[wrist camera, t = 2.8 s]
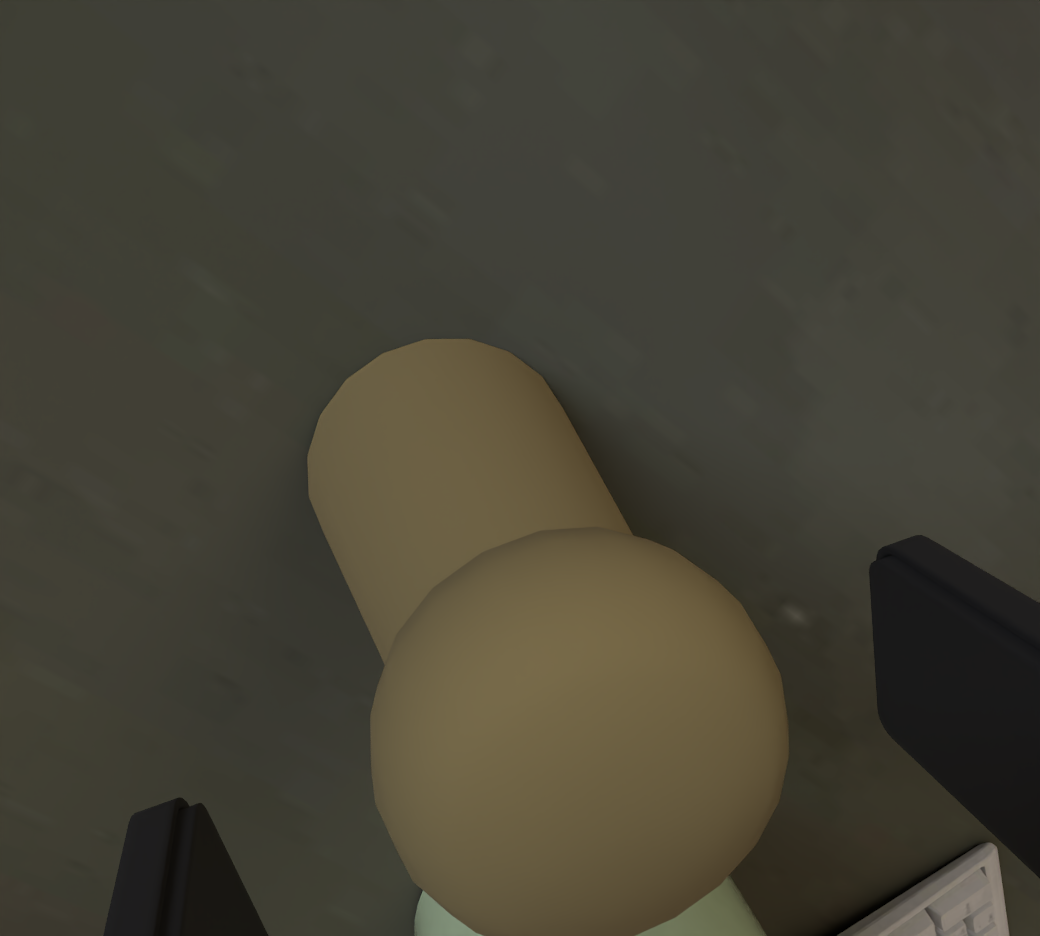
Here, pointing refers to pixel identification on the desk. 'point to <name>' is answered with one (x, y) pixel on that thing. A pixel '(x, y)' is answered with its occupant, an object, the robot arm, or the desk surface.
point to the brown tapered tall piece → (537, 658)
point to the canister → (695, 932)
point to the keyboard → (946, 902)
